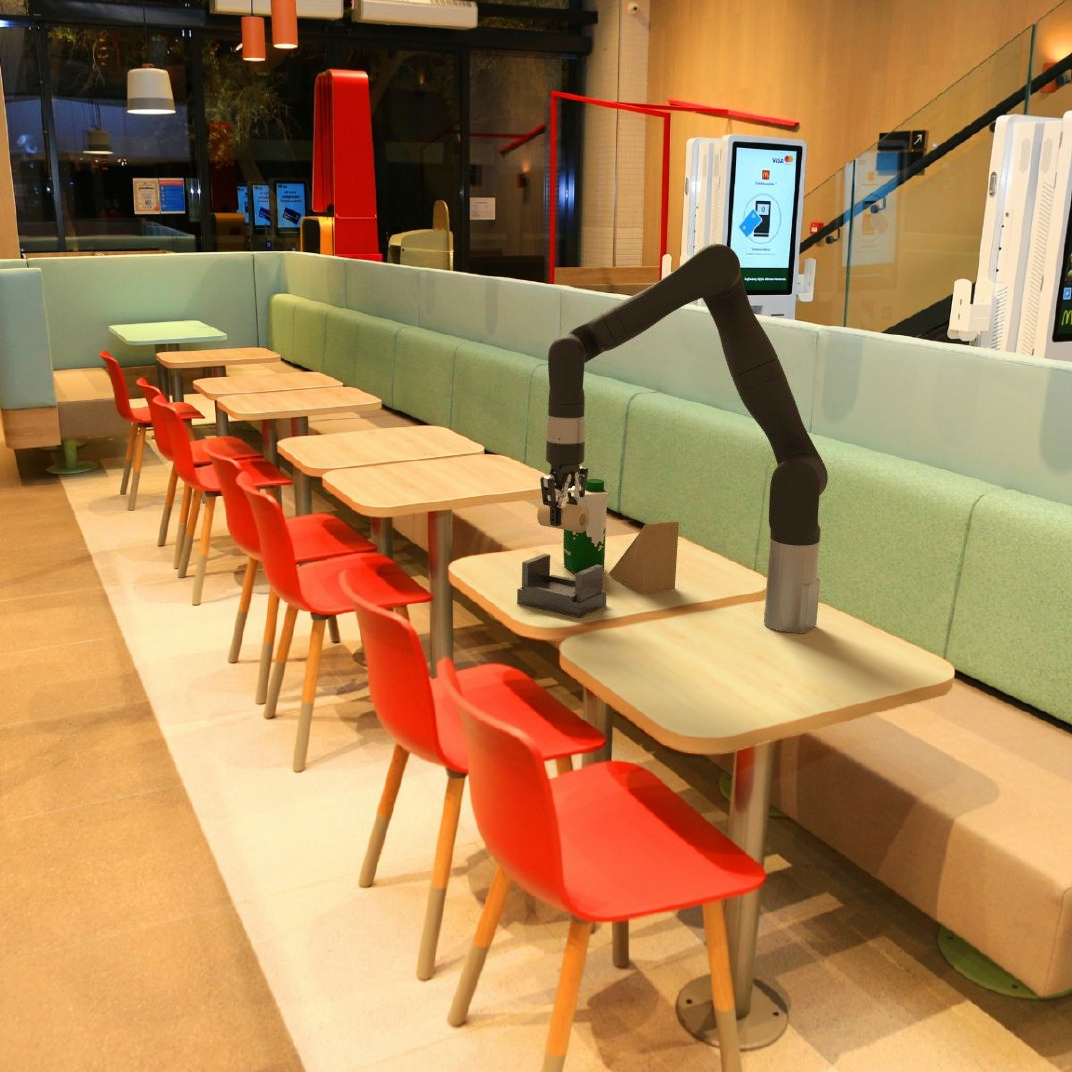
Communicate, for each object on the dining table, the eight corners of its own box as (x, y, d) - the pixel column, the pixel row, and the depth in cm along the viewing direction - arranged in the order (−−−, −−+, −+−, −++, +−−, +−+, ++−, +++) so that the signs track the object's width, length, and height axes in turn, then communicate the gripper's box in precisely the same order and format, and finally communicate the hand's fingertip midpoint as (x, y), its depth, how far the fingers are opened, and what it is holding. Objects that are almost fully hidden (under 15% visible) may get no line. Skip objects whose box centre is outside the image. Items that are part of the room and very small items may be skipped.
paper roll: (588, 531, 227) (591, 505, 226) (574, 534, 223) (576, 507, 222) (550, 524, 232) (552, 498, 231) (536, 526, 228) (537, 501, 227)
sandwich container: (640, 570, 257) (642, 505, 253) (676, 589, 243) (679, 521, 239) (606, 574, 253) (608, 508, 249) (641, 594, 240) (644, 524, 236)
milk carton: (609, 572, 254) (612, 484, 248) (570, 575, 251) (573, 486, 246) (595, 561, 262) (598, 476, 256) (558, 564, 259) (560, 478, 254)
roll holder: (606, 605, 232) (607, 564, 229) (579, 618, 224) (580, 576, 221) (544, 591, 240) (545, 552, 238) (517, 603, 232) (517, 562, 230)
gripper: (561, 446, 215) (559, 533, 220) (601, 435, 227) (598, 518, 231) (528, 441, 219) (527, 527, 224) (569, 431, 231) (567, 513, 235)
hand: (563, 522), depth 227 cm, fingers closed on paper roll, 5 cm apart
